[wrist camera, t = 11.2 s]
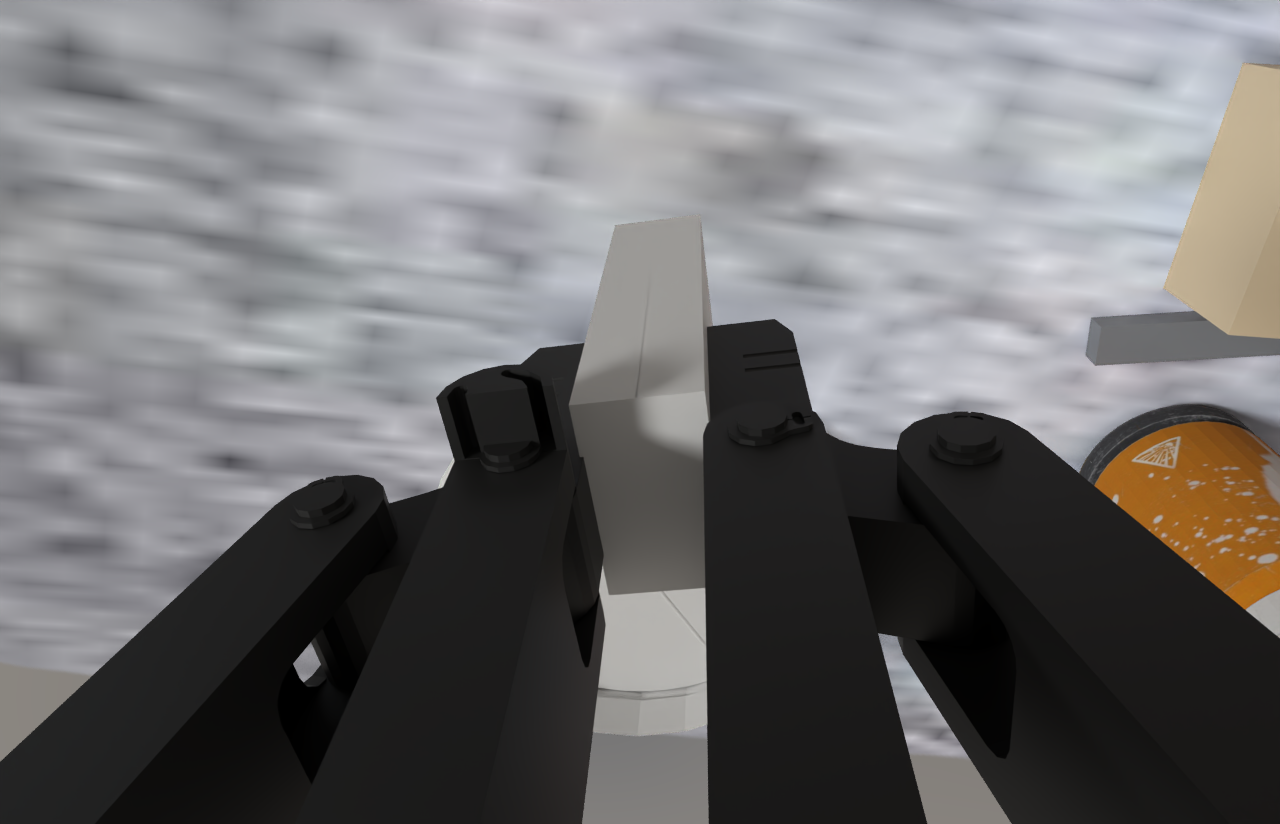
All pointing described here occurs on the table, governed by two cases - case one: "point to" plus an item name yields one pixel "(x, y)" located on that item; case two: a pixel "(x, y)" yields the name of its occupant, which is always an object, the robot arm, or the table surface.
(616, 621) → the dish
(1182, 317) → the dark grey flat u-shape
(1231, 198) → the carton
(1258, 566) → the canister
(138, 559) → the table surface
